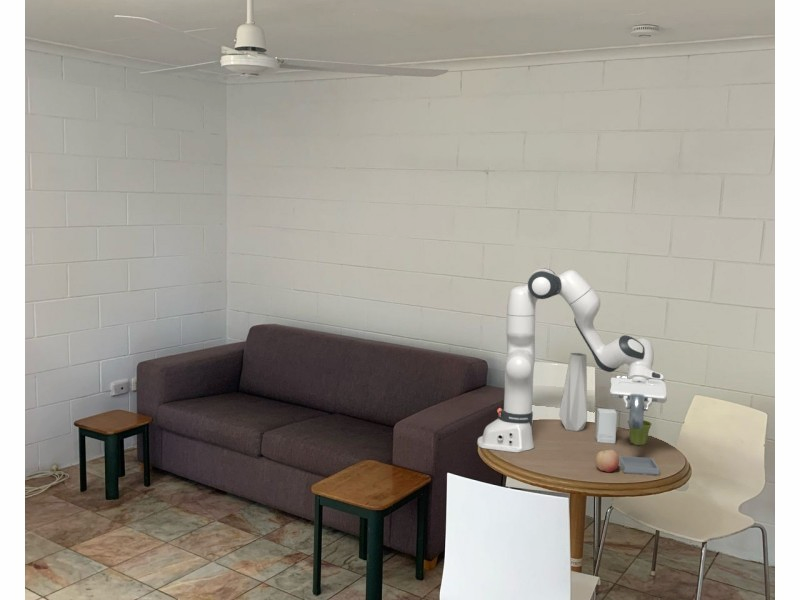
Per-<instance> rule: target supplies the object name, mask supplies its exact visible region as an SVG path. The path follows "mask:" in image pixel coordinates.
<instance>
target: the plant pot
mask: <svg viewBox="0 0 800 600" xmlns="http://www.w3.org/2000/svg"><path fill="white" fill-rule="evenodd" d="M627 424H628V425H629V420H627ZM651 426H652V422H650V421H648V420H644V419H643V428H642V429H633V428H630V427H629V426H628V428H629V440H630V443H631V444H634V445H636V446H643V445H646V444H647V441H648V435H649V433H650V432H649V431H650V429H651Z"/></svg>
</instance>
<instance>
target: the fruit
mask: <svg viewBox="0 0 800 600" xmlns="http://www.w3.org/2000/svg"><path fill="white" fill-rule="evenodd" d="M595 465H596V467H597V468H598V470H599V471H601V472H606V473H612V472H614V471H616V470H617V468H618V467H619V465H620V464H619V454H618V453H617V452H616V451H615V449H606V450H600V451H598V452H597V453H596V455H595Z"/></svg>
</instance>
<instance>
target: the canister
mask: <svg viewBox="0 0 800 600" xmlns="http://www.w3.org/2000/svg"><path fill="white" fill-rule="evenodd" d="M644 399H645V395H642V394H630V400H629V403H630V409H629V412H628V413H629V415H628V417H629V418H628V421H629V424H628V428H629V427H630V428H633V429H642V428H643V420H644V418H645V417H644V416H645V415H644V412H645V411H644V405H645V401H644Z"/></svg>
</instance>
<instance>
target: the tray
mask: <svg viewBox="0 0 800 600" xmlns="http://www.w3.org/2000/svg"><path fill="white" fill-rule="evenodd" d="M618 457H619V465H620V466H619V467H621V470H622V472H623V473H624V474H627V473H630V474H629V475H642V474H647V476H657V475H659V476H660V468H659V466H658V464H657V463H656V461H655V460H654V458H653V457H642V456H640V457H639V456H629V455H627V456H626V455H625V456H623V455H618Z"/></svg>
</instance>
